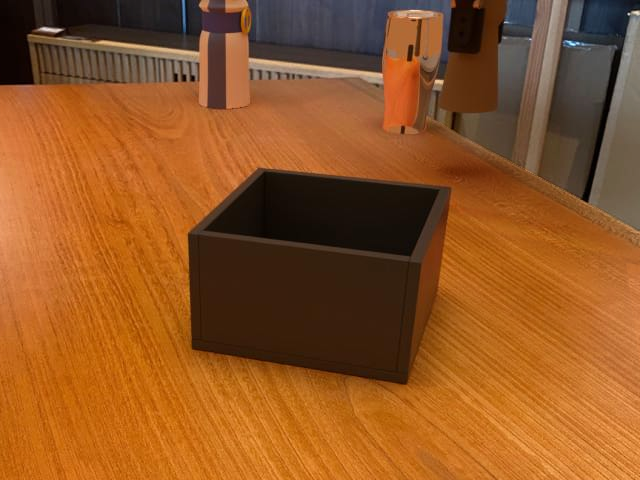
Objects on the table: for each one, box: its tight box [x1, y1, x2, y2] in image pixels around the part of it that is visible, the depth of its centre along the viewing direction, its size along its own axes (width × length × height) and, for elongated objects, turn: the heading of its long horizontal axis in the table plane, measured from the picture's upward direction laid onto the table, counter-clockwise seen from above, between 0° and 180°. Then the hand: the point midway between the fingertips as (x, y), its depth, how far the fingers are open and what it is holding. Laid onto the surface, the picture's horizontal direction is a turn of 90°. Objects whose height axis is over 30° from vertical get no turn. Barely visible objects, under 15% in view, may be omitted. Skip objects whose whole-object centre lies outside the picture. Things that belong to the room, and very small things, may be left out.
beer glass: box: [381, 9, 444, 135], centre depth 104 cm, size 7×7×15 cm
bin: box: [187, 167, 453, 385], centre depth 63 cm, size 16×16×9 cm
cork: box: [437, 0, 508, 114], centre depth 84 cm, size 6×6×11 cm
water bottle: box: [198, 0, 252, 110], centre depth 119 cm, size 8×9×25 cm
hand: (474, 45), depth 84 cm, fingers closed on cork, 5 cm apart
